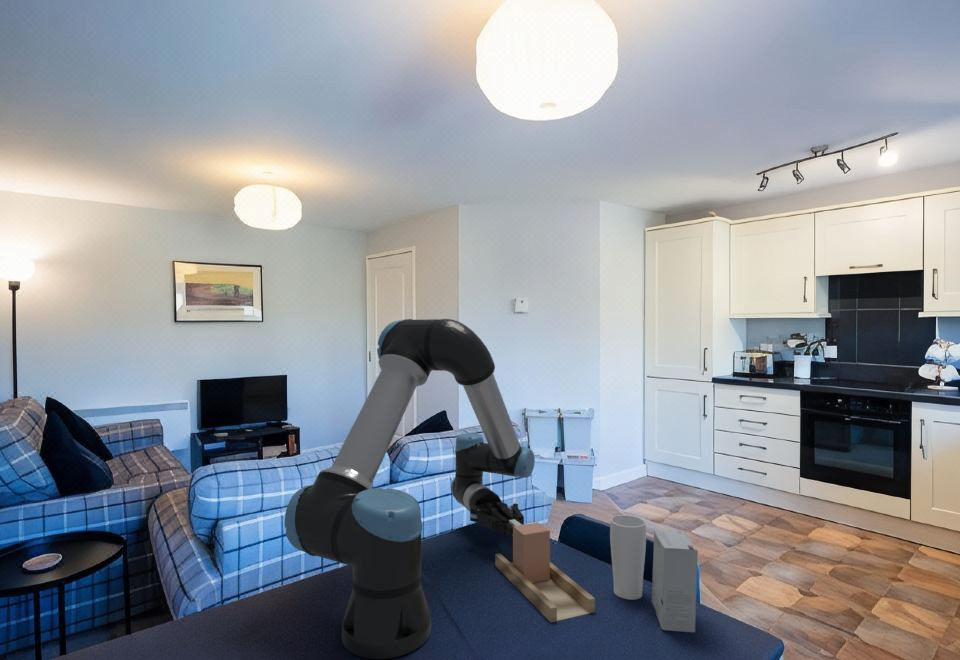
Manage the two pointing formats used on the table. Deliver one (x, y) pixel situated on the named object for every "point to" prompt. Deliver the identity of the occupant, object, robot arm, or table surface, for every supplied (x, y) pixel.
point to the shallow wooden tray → (550, 592)
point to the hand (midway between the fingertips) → (525, 536)
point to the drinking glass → (628, 555)
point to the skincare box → (674, 580)
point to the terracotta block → (532, 551)
